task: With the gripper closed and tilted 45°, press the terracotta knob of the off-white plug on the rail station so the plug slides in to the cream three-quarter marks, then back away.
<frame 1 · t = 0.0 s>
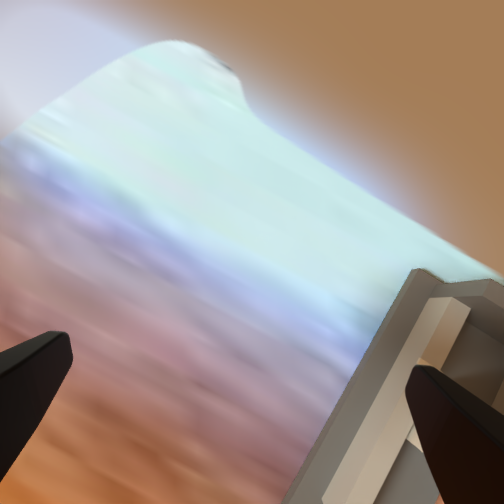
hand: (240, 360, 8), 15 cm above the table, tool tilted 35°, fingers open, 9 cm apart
station: (419, 431, 21), on the table
plug: (495, 499, 14), point 7 cm above the table, slide at 0.0 cm
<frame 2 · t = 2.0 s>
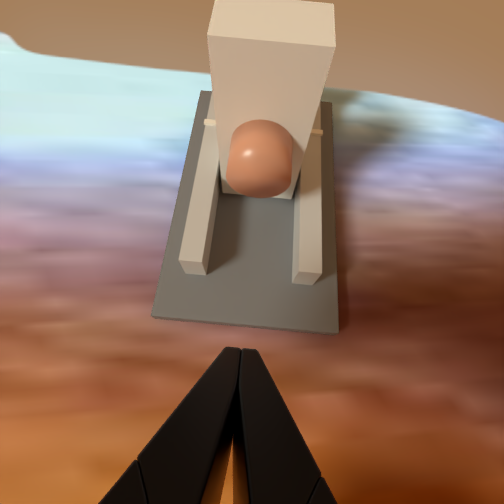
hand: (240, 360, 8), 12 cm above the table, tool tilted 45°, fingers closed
station: (256, 197, 23), on the table
plug: (262, 138, 17), point 7 cm above the table, slide at 0.0 cm
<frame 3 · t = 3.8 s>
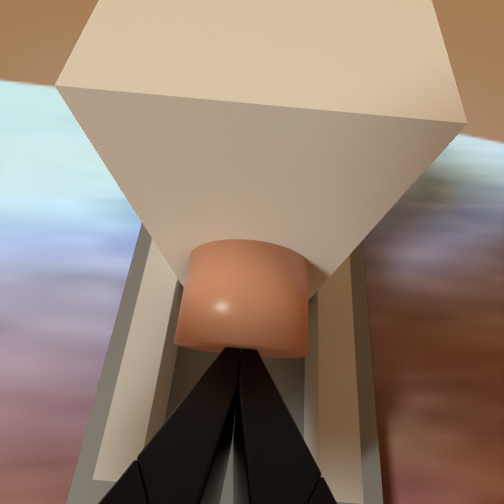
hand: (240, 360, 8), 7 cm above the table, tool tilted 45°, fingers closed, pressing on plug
station: (246, 296, 15), on the table
plug: (249, 255, 9), point 7 cm above the table, slide at 0.0 cm, touching gripper
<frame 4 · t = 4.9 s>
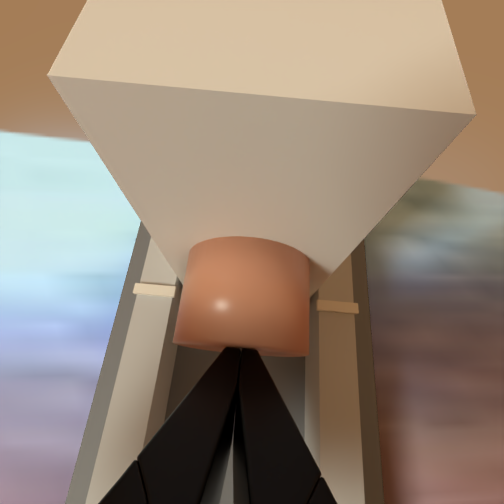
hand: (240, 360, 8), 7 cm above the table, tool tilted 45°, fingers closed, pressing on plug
station: (237, 397, 13), on the table
plug: (249, 252, 9), point 7 cm above the table, slide at 4.9 cm, touching gripper
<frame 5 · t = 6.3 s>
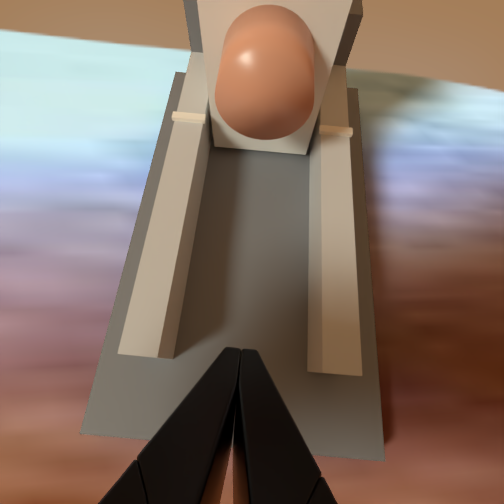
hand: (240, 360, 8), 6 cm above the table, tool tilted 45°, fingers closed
station: (253, 226, 16), on the table
plug: (269, 48, 11), point 7 cm above the table, slide at 4.9 cm
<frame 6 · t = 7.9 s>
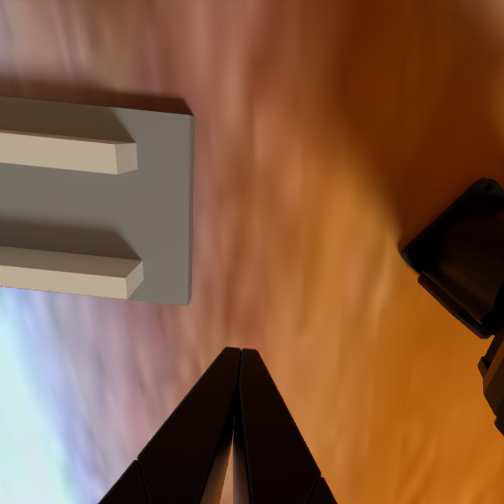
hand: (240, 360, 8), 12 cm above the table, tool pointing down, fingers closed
station: (35, 202, 19), on the table
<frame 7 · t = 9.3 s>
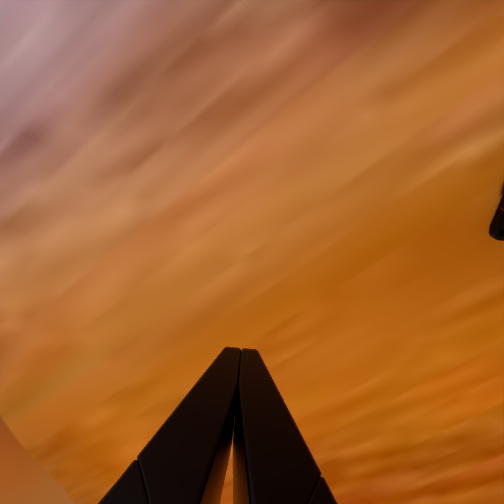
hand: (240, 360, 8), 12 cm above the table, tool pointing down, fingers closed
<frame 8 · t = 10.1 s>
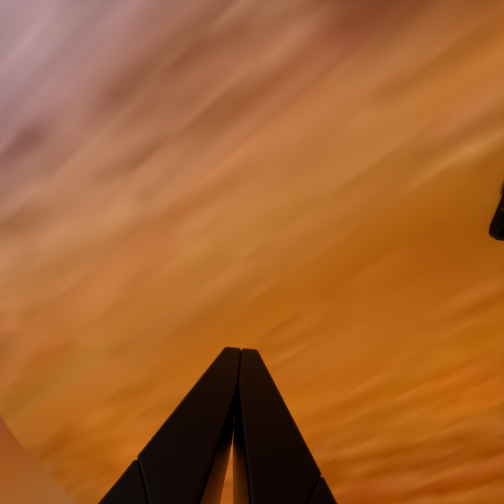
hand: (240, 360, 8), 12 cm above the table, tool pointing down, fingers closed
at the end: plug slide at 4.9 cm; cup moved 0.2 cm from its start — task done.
